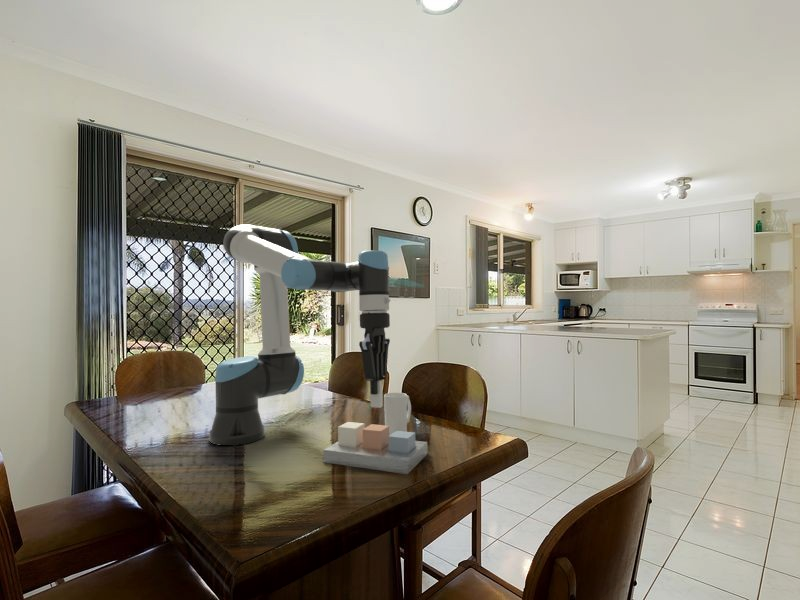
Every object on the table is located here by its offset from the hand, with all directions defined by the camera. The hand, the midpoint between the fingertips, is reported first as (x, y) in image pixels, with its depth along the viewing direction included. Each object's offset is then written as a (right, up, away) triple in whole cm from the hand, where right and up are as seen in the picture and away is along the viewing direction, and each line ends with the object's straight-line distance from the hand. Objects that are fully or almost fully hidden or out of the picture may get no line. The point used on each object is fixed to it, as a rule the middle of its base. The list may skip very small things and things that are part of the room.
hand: (376, 406), depth 102 cm
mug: (+6, -14, +19) cm, 24 cm away
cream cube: (-7, -10, +3) cm, 13 cm away
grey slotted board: (0, -13, 0) cm, 13 cm away
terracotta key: (0, -10, 0) cm, 10 cm away
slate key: (+6, -11, -3) cm, 13 cm away
